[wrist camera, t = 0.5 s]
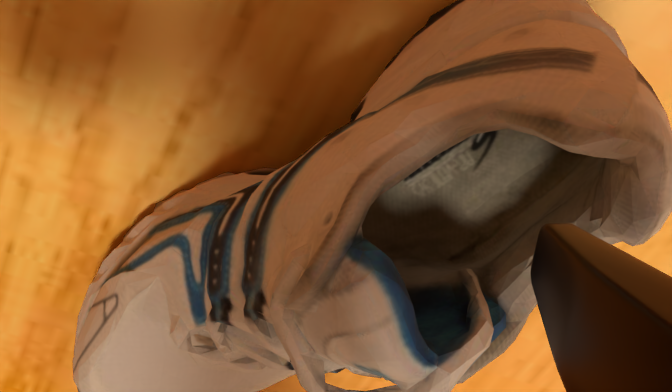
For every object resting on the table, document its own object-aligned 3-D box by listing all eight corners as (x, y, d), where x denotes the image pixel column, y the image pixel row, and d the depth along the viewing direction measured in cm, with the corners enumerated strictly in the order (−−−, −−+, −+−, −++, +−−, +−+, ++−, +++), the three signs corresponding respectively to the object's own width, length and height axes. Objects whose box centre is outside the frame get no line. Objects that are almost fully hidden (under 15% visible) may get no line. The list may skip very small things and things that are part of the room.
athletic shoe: (40, 299, 26) (-7, 624, 17) (455, -152, 18) (748, 10, 10) (227, 364, 32) (263, 629, 23) (596, 43, 24) (856, 253, 16)
